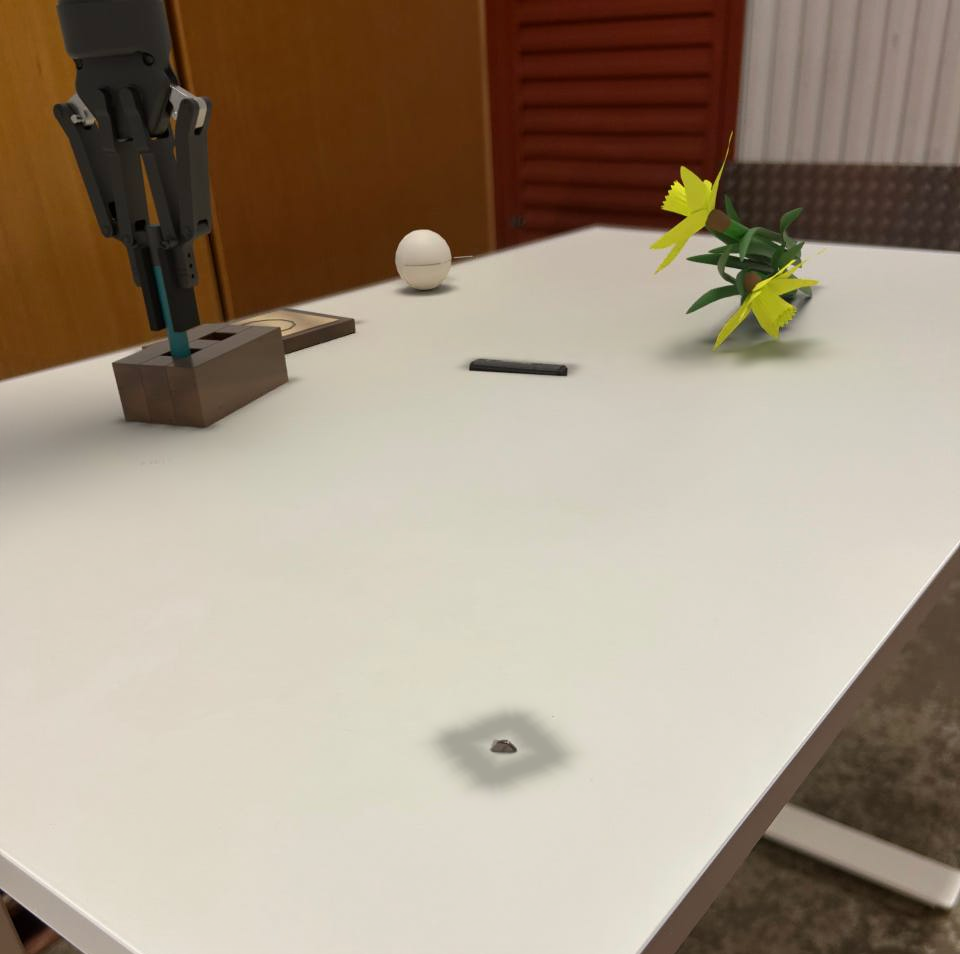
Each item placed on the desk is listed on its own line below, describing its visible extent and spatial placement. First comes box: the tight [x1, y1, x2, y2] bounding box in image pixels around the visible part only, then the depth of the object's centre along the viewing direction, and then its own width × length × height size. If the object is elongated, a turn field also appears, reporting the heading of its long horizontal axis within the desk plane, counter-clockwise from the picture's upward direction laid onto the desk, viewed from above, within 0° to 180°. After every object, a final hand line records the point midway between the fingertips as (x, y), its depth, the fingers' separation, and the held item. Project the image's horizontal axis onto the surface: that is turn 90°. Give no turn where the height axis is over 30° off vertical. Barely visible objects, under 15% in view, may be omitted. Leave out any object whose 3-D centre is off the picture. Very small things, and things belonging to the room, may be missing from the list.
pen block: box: [111, 322, 290, 429], centre depth 88 cm, size 8×14×6 cm, turn 159°
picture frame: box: [141, 307, 357, 355], centre depth 109 cm, size 20×12×2 cm, turn 141°
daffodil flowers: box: [648, 130, 828, 352], centre depth 101 cm, size 17×15×35 cm
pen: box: [144, 222, 191, 357], centre depth 83 cm, size 2×2×16 cm
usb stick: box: [468, 358, 569, 377], centre depth 93 cm, size 10×3×2 cm, turn 65°
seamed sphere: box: [394, 229, 474, 291], centre depth 128 cm, size 10×7×7 cm
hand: (175, 327), depth 83 cm, fingers closed on pen, 2 cm apart
